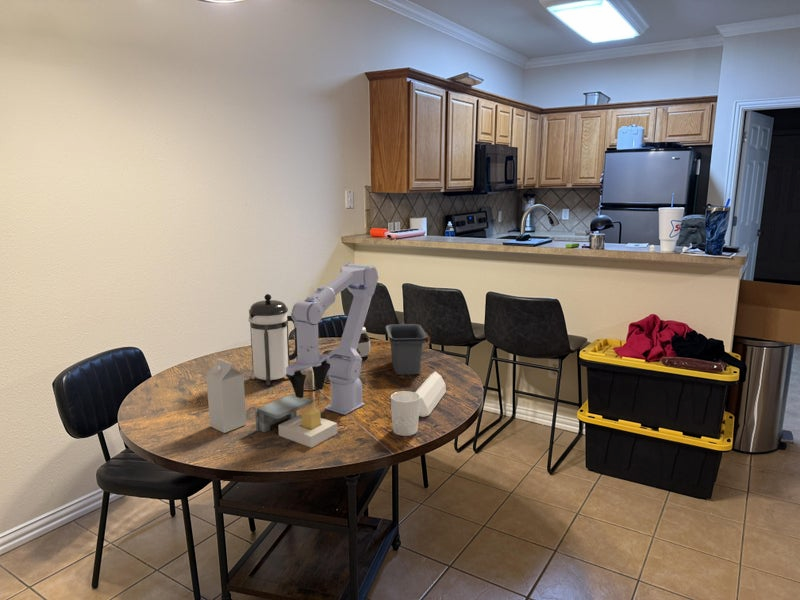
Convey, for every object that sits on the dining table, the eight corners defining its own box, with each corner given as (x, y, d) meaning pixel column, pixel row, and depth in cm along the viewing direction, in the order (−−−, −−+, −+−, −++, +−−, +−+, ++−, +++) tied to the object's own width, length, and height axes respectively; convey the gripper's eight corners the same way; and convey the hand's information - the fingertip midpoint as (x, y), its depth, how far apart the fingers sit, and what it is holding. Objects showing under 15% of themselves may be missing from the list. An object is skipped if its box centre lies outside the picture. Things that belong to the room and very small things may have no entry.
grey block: (291, 414, 158) (290, 393, 157) (313, 421, 153) (312, 400, 152) (256, 430, 148) (254, 407, 146) (278, 439, 143) (277, 415, 141)
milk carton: (232, 418, 155) (227, 355, 151) (246, 425, 151) (242, 360, 147) (209, 426, 150) (204, 361, 146) (224, 433, 146) (219, 366, 142)
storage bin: (384, 359, 209) (384, 323, 206) (424, 358, 210) (424, 322, 207) (389, 378, 188) (389, 339, 185) (433, 376, 190) (434, 337, 187)
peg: (311, 431, 147) (310, 407, 146) (321, 435, 145) (320, 410, 144) (302, 436, 144) (301, 411, 143) (311, 439, 142) (311, 415, 141)
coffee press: (291, 387, 180) (288, 298, 174) (244, 386, 180) (238, 298, 174) (302, 369, 197) (299, 288, 191) (258, 369, 197) (254, 288, 191)
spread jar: (370, 354, 216) (369, 325, 213) (370, 363, 205) (370, 333, 202) (339, 354, 215) (339, 326, 212) (338, 363, 204) (337, 333, 201)
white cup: (418, 424, 152) (418, 390, 150) (420, 437, 144) (420, 401, 142) (390, 424, 151) (390, 391, 149) (391, 437, 144) (390, 402, 142)
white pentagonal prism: (433, 408, 153) (453, 380, 175) (412, 393, 155) (435, 368, 177) (420, 427, 156) (442, 397, 178) (400, 413, 157) (424, 385, 179)
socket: (305, 422, 153) (305, 412, 152) (337, 433, 146) (337, 423, 145) (278, 435, 145) (278, 425, 144) (311, 447, 138) (310, 436, 137)
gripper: (299, 354, 137) (300, 404, 140) (337, 341, 149) (338, 388, 152) (279, 349, 141) (282, 398, 144) (318, 337, 153) (319, 382, 156)
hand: (309, 392), depth 148 cm, fingers open, 7 cm apart
